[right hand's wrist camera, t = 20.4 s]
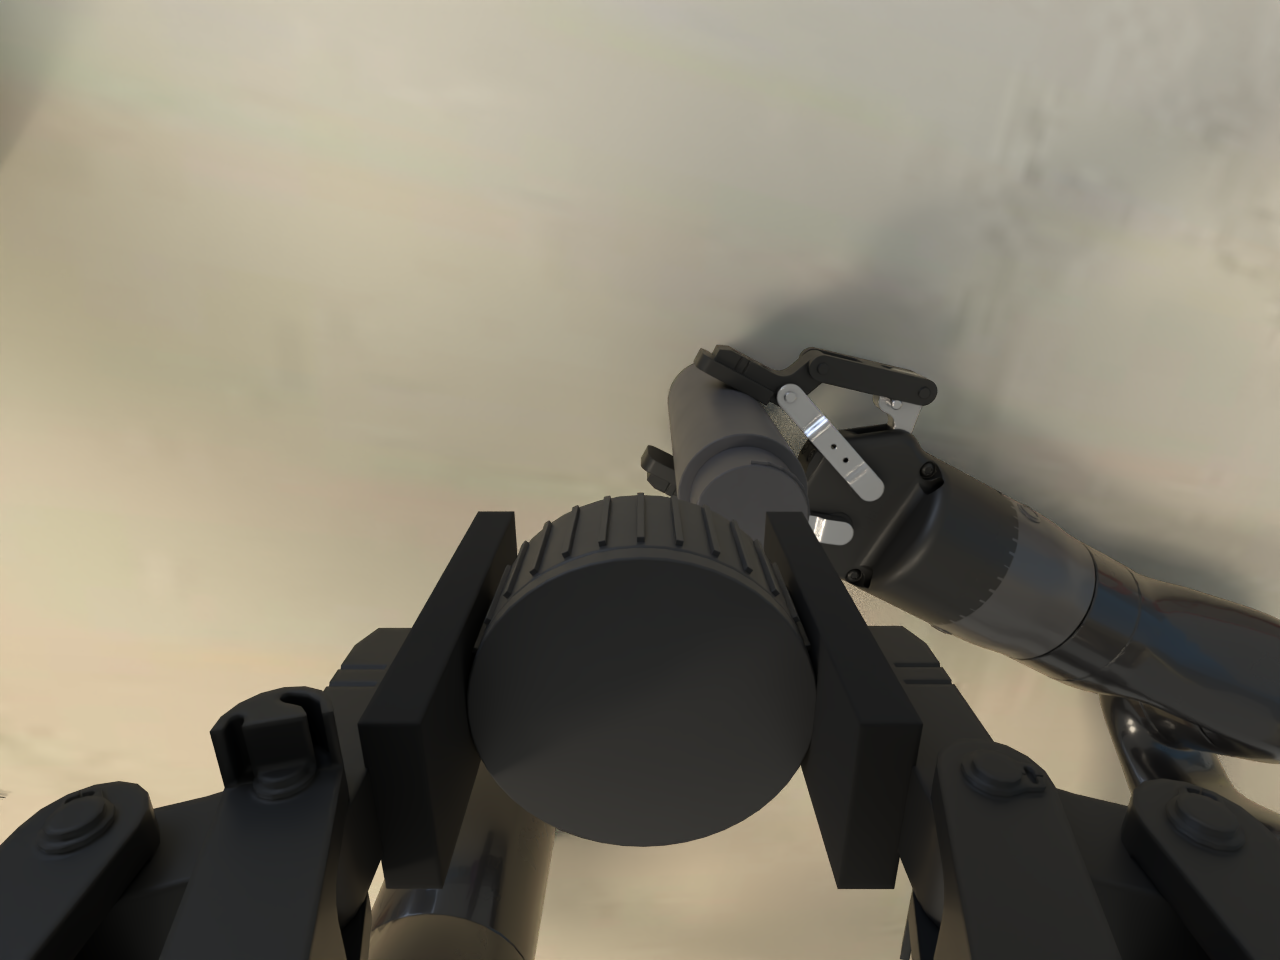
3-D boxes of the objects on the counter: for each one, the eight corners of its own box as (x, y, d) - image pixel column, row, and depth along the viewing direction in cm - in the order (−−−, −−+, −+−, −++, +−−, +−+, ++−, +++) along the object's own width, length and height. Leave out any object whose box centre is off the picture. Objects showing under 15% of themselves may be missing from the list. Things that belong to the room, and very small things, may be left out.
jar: (743, 444, 40) (809, 588, 24) (663, 437, 40) (672, 576, 23) (755, 364, 38) (834, 459, 22) (672, 356, 38) (688, 445, 22)
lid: (433, 581, 12) (386, 662, 10) (701, 432, 11) (716, 484, 9) (594, 786, 14) (584, 895, 12) (839, 671, 13) (882, 766, 11)
